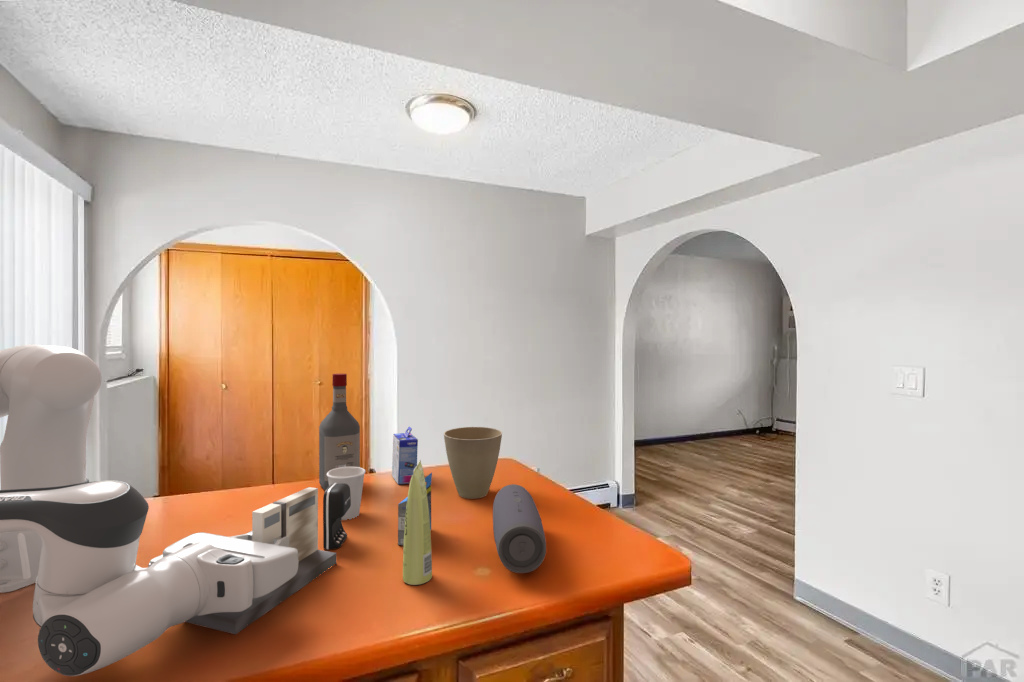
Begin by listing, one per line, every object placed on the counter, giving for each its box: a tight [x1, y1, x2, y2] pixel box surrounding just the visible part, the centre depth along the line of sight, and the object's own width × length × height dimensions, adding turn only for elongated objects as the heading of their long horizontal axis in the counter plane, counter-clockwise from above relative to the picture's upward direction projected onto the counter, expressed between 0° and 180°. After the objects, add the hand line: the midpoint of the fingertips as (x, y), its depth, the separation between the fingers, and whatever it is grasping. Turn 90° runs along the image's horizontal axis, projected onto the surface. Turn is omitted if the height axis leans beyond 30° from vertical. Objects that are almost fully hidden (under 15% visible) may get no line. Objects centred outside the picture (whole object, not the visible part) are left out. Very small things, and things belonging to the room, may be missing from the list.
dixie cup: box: [327, 467, 366, 521], centre depth 114 cm, size 8×8×10 cm
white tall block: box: [251, 502, 281, 544], centre depth 82 cm, size 4×2×11 cm, turn 162°
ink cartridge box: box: [391, 426, 419, 485], centre depth 141 cm, size 10×6×14 cm, turn 24°
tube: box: [402, 459, 433, 586], centre depth 86 cm, size 6×5×20 cm
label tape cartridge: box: [397, 472, 433, 547], centre depth 102 cm, size 9×4×12 cm, turn 168°
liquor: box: [318, 373, 361, 492], centre depth 134 cm, size 9×9×30 cm
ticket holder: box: [184, 486, 337, 635], centre depth 82 cm, size 22×10×13 cm, turn 162°
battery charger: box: [322, 483, 351, 551], centre depth 99 cm, size 7×4×11 cm, turn 3°
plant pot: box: [443, 426, 503, 500], centre depth 129 cm, size 15×15×16 cm
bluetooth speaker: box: [492, 483, 547, 574], centre depth 97 cm, size 23×9×10 cm, turn 4°
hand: (271, 538), depth 83 cm, fingers open, 4 cm apart
